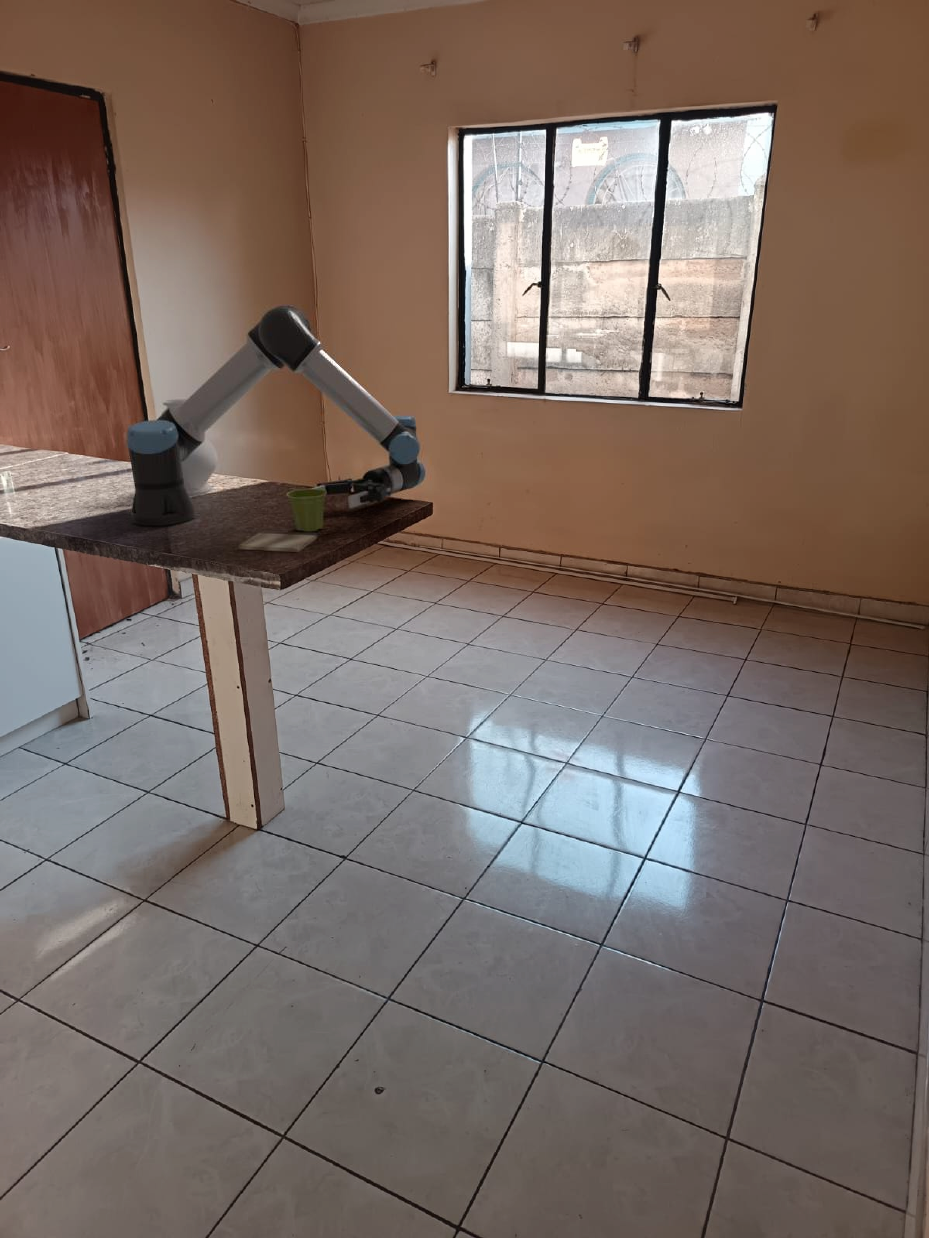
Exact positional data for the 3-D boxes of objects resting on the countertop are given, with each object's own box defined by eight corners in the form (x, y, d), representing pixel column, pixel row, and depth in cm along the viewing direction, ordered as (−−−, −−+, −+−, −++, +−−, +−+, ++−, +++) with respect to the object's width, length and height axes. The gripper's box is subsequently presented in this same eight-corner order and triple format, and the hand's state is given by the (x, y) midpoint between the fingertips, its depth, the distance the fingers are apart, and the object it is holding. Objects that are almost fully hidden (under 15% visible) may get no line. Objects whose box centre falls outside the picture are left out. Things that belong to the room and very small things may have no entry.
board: (238, 549, 191) (238, 545, 190) (262, 534, 202) (262, 530, 201) (298, 552, 188) (297, 548, 187) (318, 537, 199) (318, 533, 198)
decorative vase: (207, 481, 258) (197, 395, 249) (231, 491, 244) (220, 401, 235) (147, 490, 248) (134, 401, 239) (168, 501, 235) (155, 407, 225)
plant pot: (291, 535, 200) (287, 498, 197) (287, 525, 209) (284, 490, 206) (331, 532, 202) (329, 495, 199) (326, 522, 211) (324, 487, 208)
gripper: (421, 501, 220) (369, 520, 204) (345, 491, 233) (290, 508, 216) (420, 472, 218) (367, 489, 201) (343, 463, 230) (288, 478, 213)
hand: (327, 499), depth 208 cm, fingers open, 13 cm apart
